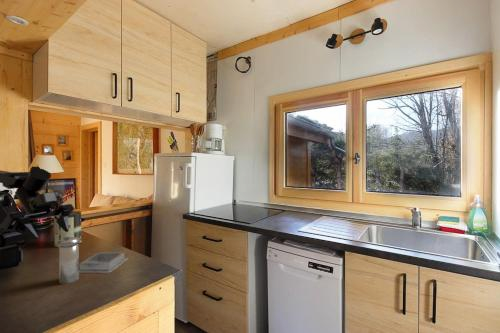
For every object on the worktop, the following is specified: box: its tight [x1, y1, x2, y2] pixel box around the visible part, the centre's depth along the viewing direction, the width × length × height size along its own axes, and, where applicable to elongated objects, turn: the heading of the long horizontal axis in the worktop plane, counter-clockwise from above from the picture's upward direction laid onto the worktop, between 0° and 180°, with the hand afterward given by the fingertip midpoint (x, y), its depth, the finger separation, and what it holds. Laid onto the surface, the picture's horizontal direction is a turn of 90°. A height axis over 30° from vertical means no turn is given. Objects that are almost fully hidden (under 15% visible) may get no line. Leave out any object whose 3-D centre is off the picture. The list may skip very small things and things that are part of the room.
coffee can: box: [53, 210, 82, 248], centre depth 114 cm, size 10×10×14 cm
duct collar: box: [79, 252, 129, 274], centre depth 90 cm, size 12×12×3 cm
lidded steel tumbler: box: [57, 237, 80, 285], centre depth 78 cm, size 6×6×13 cm
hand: (53, 235), depth 81 cm, fingers open, 9 cm apart
